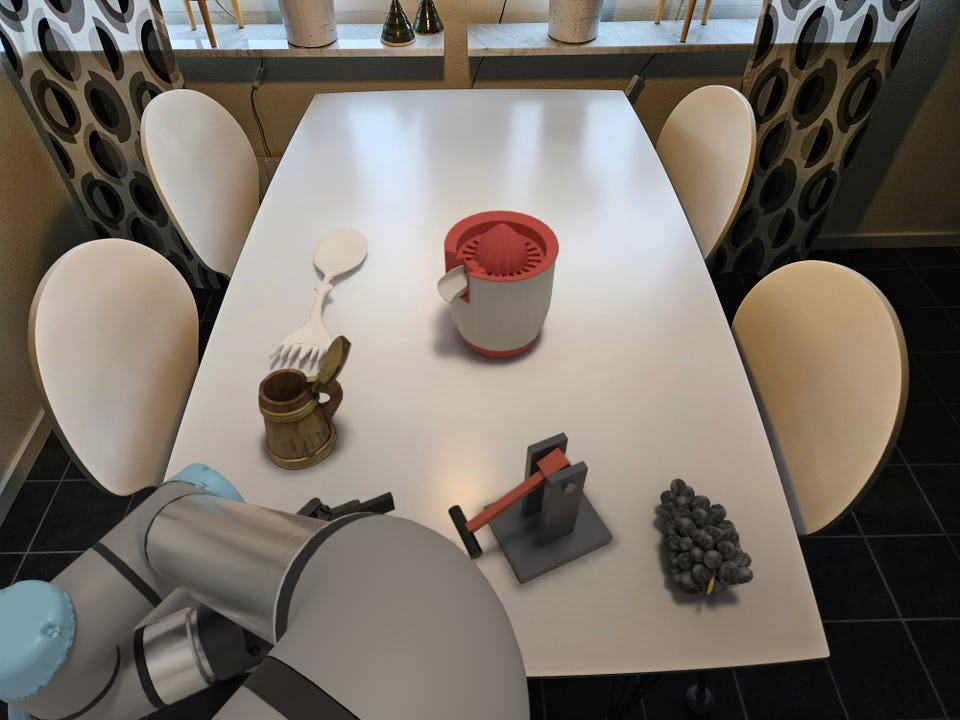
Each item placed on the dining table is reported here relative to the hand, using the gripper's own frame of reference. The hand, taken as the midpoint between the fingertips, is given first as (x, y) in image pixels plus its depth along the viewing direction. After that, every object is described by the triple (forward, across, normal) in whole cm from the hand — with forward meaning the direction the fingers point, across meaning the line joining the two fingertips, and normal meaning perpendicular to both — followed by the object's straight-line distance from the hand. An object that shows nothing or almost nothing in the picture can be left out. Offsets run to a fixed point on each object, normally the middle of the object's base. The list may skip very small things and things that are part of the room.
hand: (416, 552), depth 67 cm
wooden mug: (-5, -24, -8) cm, 26 cm away
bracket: (+16, 0, -7) cm, 18 cm away
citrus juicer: (+25, -32, -8) cm, 41 cm away
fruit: (+30, +10, -8) cm, 33 cm away
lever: (+12, 0, +2) cm, 12 cm away
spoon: (+4, -51, -8) cm, 51 cm away
